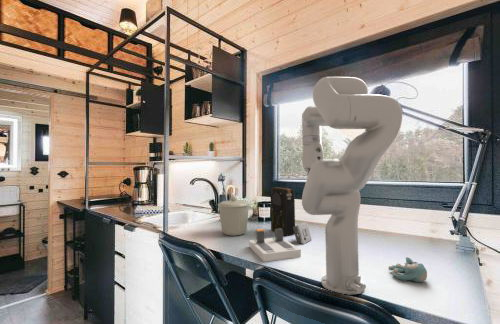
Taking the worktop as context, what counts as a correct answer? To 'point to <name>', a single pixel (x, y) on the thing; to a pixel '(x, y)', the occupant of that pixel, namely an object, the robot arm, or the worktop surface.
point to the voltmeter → (282, 210)
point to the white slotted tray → (274, 249)
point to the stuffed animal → (410, 271)
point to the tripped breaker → (260, 235)
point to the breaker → (279, 234)
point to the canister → (234, 216)
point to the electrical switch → (302, 233)
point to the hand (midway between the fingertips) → (312, 185)
